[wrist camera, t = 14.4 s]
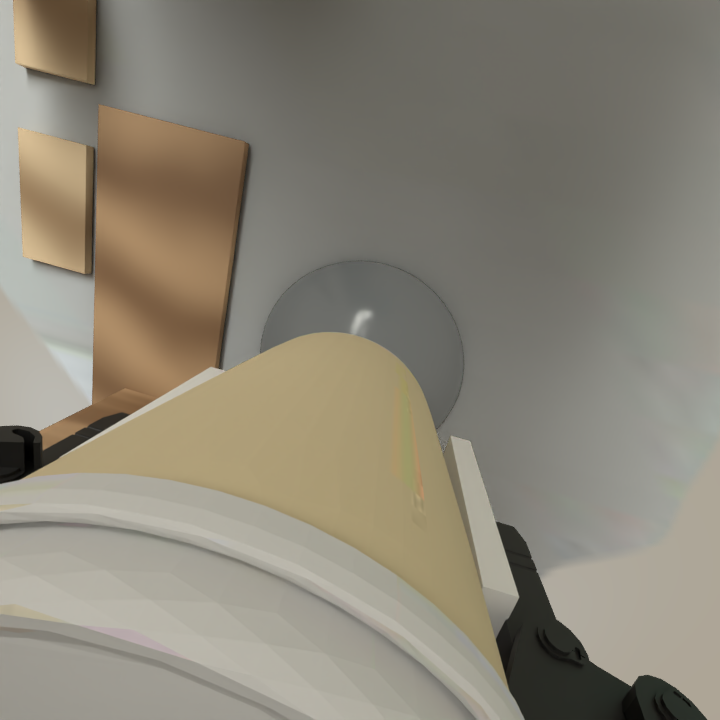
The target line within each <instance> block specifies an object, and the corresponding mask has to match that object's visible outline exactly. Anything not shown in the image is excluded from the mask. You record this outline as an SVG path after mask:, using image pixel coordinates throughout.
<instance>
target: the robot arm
mask: <svg viewBox="0 0 720 720" xmlns="http://www.w3.org/2000/svg"><path fill="white" fill-rule="evenodd" d="M224 372H226V371H224V370H220V369H217V368H213V367H210V368H208V369H206V370H205V371H203V372H201V373H200V374H198V375H196V376H195V377H193V378H191V379H190V380H188V381H186V382H185V383H183V384H181V385H179V386H178V387H176V388H174V389H173V390H171V391H169V392H168V393H166V394H164V395H163V396H161V397H159V398H158V399H156V400H154V401H153V402H151V403H149V404H148V405H146V406H144V407H143V408H141V409H139V410H138V411H136V412H134V413H133V414H131V415H130V414H127V413H123V412H121V413H117V414H113V415H110V416H106V417H103V418H101V419H99V420H97V421H95V422H94V423H92V424H90V425H88V427H87V428H86V427H85V428H83V429H81V430H79V431H77V432H76V433H75V435H73V434H72V435H70V436H68V437H66V438H65V439H63V440H61V441H59V442H57V443H56V444H54V445H52V446H50V447H48V448H47V449H45V450H43V440H42V435H41V434H40V432H39V431H37V430H35V429H33V428H31V427H24V426H0V484H3V483H8V482H13V481H18V480H21V479H23V478H24V477H26V476H28V475H30V474H32V473H34V472H35V471H37V470H39V469H41V468H43V467H45V466H46V465H48V464H50V463H52V462H54V461H56V460H57V459H59V458H61V457H63V456H65V455H67V454H68V453H70V452H72V451H74V450H76V449H78V448H80V447H81V446H83V445H85V444H87V443H89V442H91V441H93V440H95V439H96V438H98V437H100V436H102V435H104V434H106V433H108V432H110V431H111V430H113V429H115V428H117V427H119V426H121V425H123V424H125V423H126V422H128V421H130V420H132V419H134V418H136V417H138V416H140V415H142V414H144V413H146V412H148V411H150V410H152V409H154V408H155V407H157V406H159V405H161V404H163V403H165V402H167V401H169V400H171V399H173V398H175V397H177V396H179V395H181V394H183V393H185V392H186V391H188V390H190V389H192V388H194V387H196V386H198V385H200V384H202V383H204V382H206V381H208V380H210V379H212V378H214V377H216V376H218V375H220V374H222V373H224ZM443 456H444V460H445V463H446V466H447V470H448V473H449V476H450V480H451V483H452V487H453V490H454V493H455V497H456V500H457V504H458V507H459V510H460V514H461V517H462V521H463V524H464V527H465V531H466V534H467V538H468V541H469V544H470V548H471V552H472V555H473V559H474V562H475V566H476V570H477V573H478V577H479V581H480V584H481V588H482V592H483V595H484V599H485V603H486V606H487V610H488V613H489V617H490V621H491V624H492V628H493V632H494V636H495V639H496V643H497V647H498V650H499V654H500V658H501V662H502V665H503V669H504V673H505V677H506V680H507V684H508V688H509V691H510V693H511V695H512V696H513V698H514V699H515V701H516V703H517V705H518V707H519V709H520V711H521V713H522V715H523V717H524V719H525V720H707V719H706V718H705V716H704V715H703V714H702V713H701V712H700V711H699V710H698V708H697V707H696V706H695V705H694V704H693V703H692V702H691V701H690V700H689V699H688V698H687V697H686V696H684V695H683V694H682V693H681V692H680V691H679V690H677V689H676V688H675V687H673V686H671V685H670V684H668V683H667V682H665V681H663V680H662V679H659V678H656V677H653V676H650V675H644V676H639V677H638V678H637V680H636V681H635V682H634V684H633V685H632V687H631V686H629V685H628V684H626V683H624V682H623V681H621V680H619V679H618V678H616V677H614V676H612V675H611V674H609V673H608V672H606V671H604V670H602V669H601V668H599V667H597V666H596V665H595V664H593V663H592V662H590V661H589V658H588V655H587V653H586V651H585V649H584V647H583V645H582V644H581V642H580V641H579V640H578V639H577V638H576V636H575V635H574V634H573V633H572V632H571V630H569V629H568V628H567V627H566V626H564V625H563V624H562V623H560V622H559V621H557V620H556V618H555V615H554V613H553V610H552V608H551V605H550V603H549V600H548V597H547V595H546V592H545V590H544V587H543V585H542V582H541V580H540V577H539V575H538V573H536V567H535V564H534V562H533V560H531V558H532V557H531V554H530V552H529V549H528V547H527V544H526V542H525V541H524V539H523V538H522V537H521V536H520V534H519V533H518V532H517V531H516V529H515V528H514V527H512V526H509V525H506V524H502V523H499V522H495V518H494V515H493V512H492V509H491V506H490V502H489V499H488V496H487V493H486V490H485V486H484V483H483V480H482V477H481V474H480V471H479V467H478V464H477V461H476V458H475V455H474V451H473V448H472V445H471V442H470V441H468V440H464V439H461V438H458V437H454V436H451V435H450V438H449V441H448V443H447V446H446V449H445V452H444V454H443Z"/></svg>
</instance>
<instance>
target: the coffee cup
mask: <svg viewBox="0 0 720 720" xmlns="http://www.w3.org/2000/svg"><path fill="white" fill-rule="evenodd" d="M0 720H525V719H524V717H523V715H522V713H521V711H520V709H519V707H518V705H517V703H516V701H515V699H514V698H513V696H512V695H511V693H510V691H509V688H508V684H507V680H506V677H505V673H504V669H503V665H502V662H501V658H500V654H499V650H498V647H497V643H496V639H495V636H494V632H493V628H492V624H491V621H490V617H489V613H488V610H487V606H486V603H485V599H484V595H483V592H482V588H481V584H480V581H479V577H478V573H477V570H476V566H475V562H474V559H473V555H472V552H471V548H470V544H469V541H468V538H467V534H466V531H465V527H464V524H463V521H462V517H461V514H460V510H459V507H458V504H457V500H456V497H455V493H454V490H453V487H452V483H451V480H450V476H449V473H448V470H447V466H446V463H445V460H444V456H443V453H442V449H441V446H440V443H439V439H438V436H437V433H436V429H435V426H434V422H433V419H432V416H431V413H430V410H429V407H428V404H427V401H426V399H425V396H424V394H423V392H422V389H421V387H420V385H419V383H418V382H417V380H416V379H415V377H414V376H413V374H412V373H411V371H410V370H409V369H408V368H407V367H406V365H405V364H404V363H403V362H402V361H401V360H400V359H399V358H397V357H396V356H395V355H394V354H393V353H391V352H390V351H389V350H387V349H386V348H384V347H382V346H381V345H379V344H377V343H375V342H373V341H371V340H368V339H366V338H363V337H360V336H356V335H353V334H347V333H340V332H320V333H311V334H307V335H303V336H300V337H297V338H294V339H292V340H289V341H287V342H285V343H282V344H280V345H277V346H275V347H273V348H271V349H269V350H267V351H265V352H263V353H261V354H259V355H257V356H255V357H253V358H251V359H249V360H247V361H245V362H243V363H241V364H239V365H237V366H235V367H233V368H231V369H229V370H227V371H226V372H224V373H222V374H220V375H218V376H216V377H214V378H212V379H210V380H208V381H206V382H204V383H202V384H200V385H198V386H196V387H194V388H192V389H190V390H188V391H186V392H185V393H183V394H181V395H179V396H177V397H175V398H173V399H171V400H169V401H167V402H165V403H163V404H161V405H159V406H157V407H155V408H154V409H152V410H150V411H148V412H146V413H144V414H142V415H140V416H138V417H136V418H134V419H132V420H130V421H128V422H126V423H125V424H123V425H121V426H119V427H117V428H115V429H113V430H111V431H110V432H108V433H106V434H104V435H102V436H100V437H98V438H96V439H95V440H93V441H91V442H89V443H87V444H85V445H83V446H81V447H80V448H78V449H76V450H74V451H72V452H70V453H68V454H67V455H65V456H63V457H61V458H59V459H57V460H56V461H54V462H52V463H50V464H48V465H46V466H45V467H43V468H41V469H39V470H37V471H35V472H34V473H32V474H30V475H28V476H26V477H24V478H23V479H21V480H18V481H13V482H8V483H3V484H0Z"/></svg>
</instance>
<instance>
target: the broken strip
mask: <svg viewBox="0 0 720 720" xmlns="http://www.w3.org/2000/svg"><path fill="white" fill-rule="evenodd" d="M13 11H14V37H15V63H17V64H19V65H21V66H23V67H26V68H29V69H33V70H37V71H41V72H45V73H49V74H53V75H57V76H61V77H65V78H69V79H73V80H77V81H81V82H85V83H89V84H93V85H95V48H96V0H13ZM18 141H19V167H20V193H21V219H22V245H23V257H26V258H29V259H33V260H37V261H40V262H44V263H47V264H51V265H54V266H58V267H62V268H65V269H69V270H72V271H76V272H80V273H83V274H89V273H91V265H92V210H93V156H94V147H90V146H87V145H83V144H80V143H76V142H72V141H68V140H64V139H61V138H57V137H53V136H49V135H45V134H41V133H38V132H34V131H30V130H26V129H22V128H19V127H18Z"/></svg>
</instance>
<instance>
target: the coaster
mask: <svg viewBox="0 0 720 720" xmlns="http://www.w3.org/2000/svg"><path fill="white" fill-rule="evenodd" d="M320 332H340V333H347V334H353V335H356V336H360V337H363V338H366V339H368V340H371V341H373V342H375V343H377V344H379V345H381V346H382V347H384V348H386V349H387V350H389V351H390V352H391V353H393V354H394V355H395V356H396V357H397V358H399V359H400V360H401V361H402V362H403V363H404V364H405V365H406V367H407V368H408V369H409V370H410V371H411V373H412V374H413V376H414V377H415V379H416V380H417V382H418V383H419V385H420V387H421V389H422V392H423V394H424V396H425V399H426V401H427V404H428V407H429V410H430V413H431V416H432V419H433V422H434V426H435V429H437V428H438V427H439V426H440V424H441V423H442V422H443V421H444V420H445V418H446V417H447V416H448V414H449V412H450V411H451V409H452V408H453V406H454V403H455V401H456V399H457V397H458V394H459V391H460V387H461V384H462V378H463V371H464V355H463V348H462V342H461V339H460V335H459V332H458V329H457V327H456V324H455V322H454V320H453V318H452V316H451V314H450V313H449V311H448V309H447V308H446V306H445V305H444V303H443V302H442V301H441V300H440V299H439V297H438V296H437V295H436V294H435V293H434V292H433V291H432V290H431V289H430V288H429V287H428V286H427V285H425V284H424V283H423V282H421V281H420V280H418V279H417V278H416V277H414V276H413V275H411V274H409V273H407V272H405V271H403V270H401V269H398V268H395V267H392V266H389V265H386V264H381V263H376V262H369V261H349V262H341V263H337V264H332V265H328V266H325V267H323V268H320V269H317V270H315V271H313V272H311V273H309V274H308V275H306V276H304V277H302V278H301V279H300V280H298V281H297V282H296V283H294V284H293V285H292V286H291V287H290V288H289V289H288V290H287V291H286V292H285V293H284V294H283V295H282V296H281V298H280V299H279V300H278V302H277V303H276V304H275V306H274V308H273V309H272V311H271V313H270V315H269V317H268V320H267V322H266V325H265V327H264V331H263V335H262V339H261V349H260V354H261V353H263V352H265V351H267V350H269V349H271V348H273V347H275V346H277V345H280V344H282V343H285V342H287V341H289V340H292V339H294V338H297V337H300V336H303V335H307V334H311V333H320Z"/></svg>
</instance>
